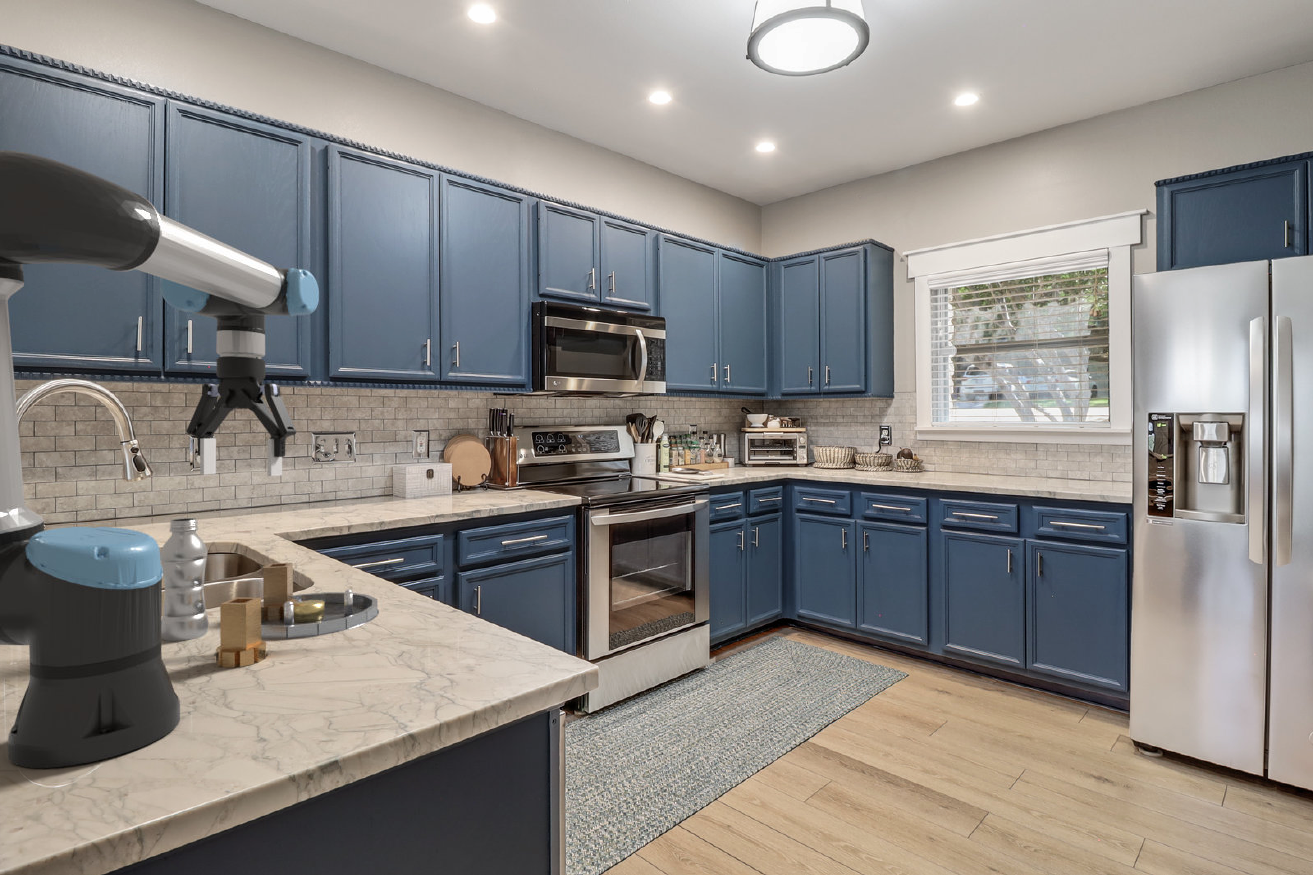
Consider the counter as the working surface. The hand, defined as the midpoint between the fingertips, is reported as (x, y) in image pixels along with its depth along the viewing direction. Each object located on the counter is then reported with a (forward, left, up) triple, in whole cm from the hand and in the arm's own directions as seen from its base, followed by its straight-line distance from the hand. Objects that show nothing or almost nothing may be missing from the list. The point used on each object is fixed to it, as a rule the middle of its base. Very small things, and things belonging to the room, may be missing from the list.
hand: (241, 475), depth 124 cm
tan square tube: (-1, -7, -25) cm, 26 cm away
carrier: (-3, -14, -26) cm, 30 cm away
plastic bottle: (-13, +1, -26) cm, 29 cm away
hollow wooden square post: (-21, -13, -26) cm, 36 cm away
